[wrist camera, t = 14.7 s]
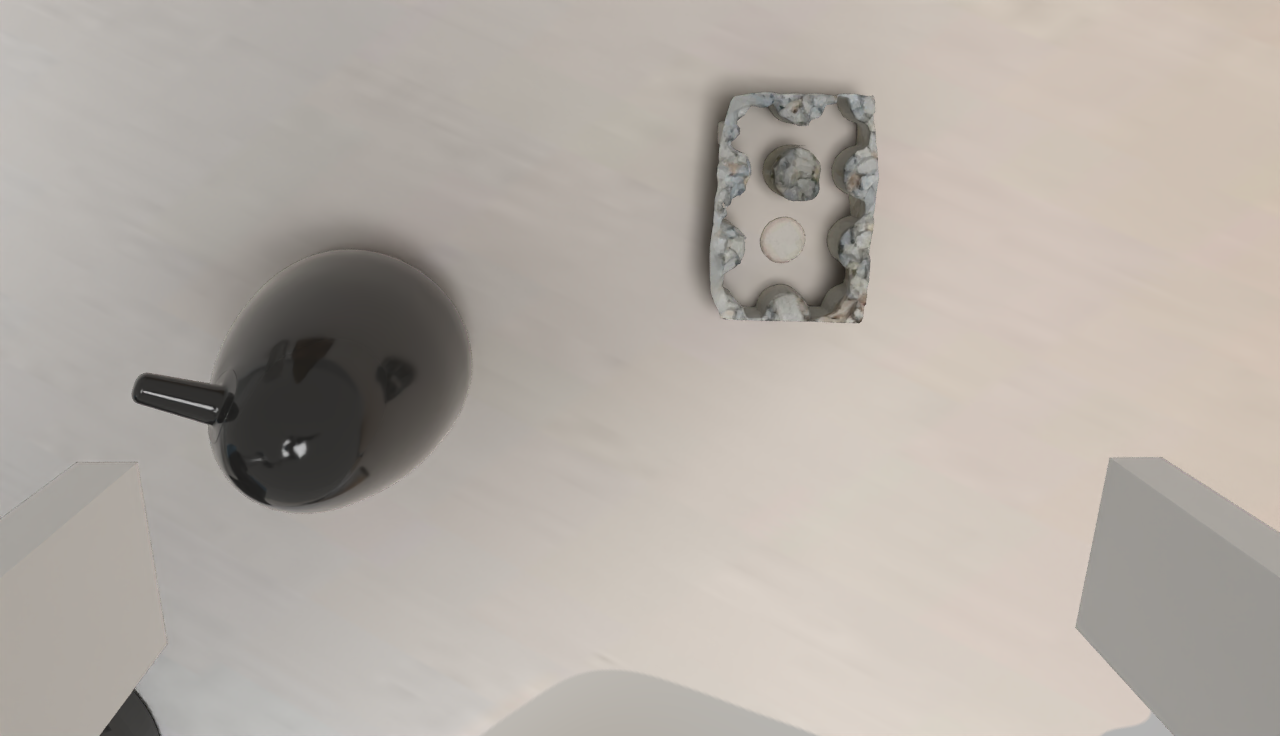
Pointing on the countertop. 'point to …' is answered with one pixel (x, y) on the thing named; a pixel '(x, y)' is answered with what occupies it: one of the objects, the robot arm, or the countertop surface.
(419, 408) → the pump dispenser
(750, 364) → the countertop surface
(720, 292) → the egg carton
